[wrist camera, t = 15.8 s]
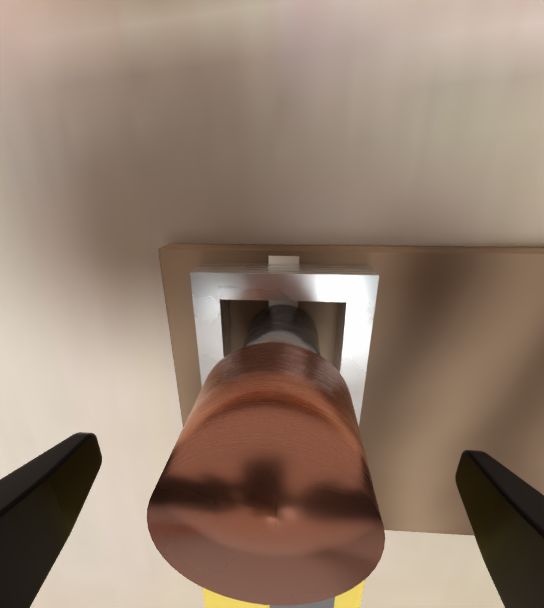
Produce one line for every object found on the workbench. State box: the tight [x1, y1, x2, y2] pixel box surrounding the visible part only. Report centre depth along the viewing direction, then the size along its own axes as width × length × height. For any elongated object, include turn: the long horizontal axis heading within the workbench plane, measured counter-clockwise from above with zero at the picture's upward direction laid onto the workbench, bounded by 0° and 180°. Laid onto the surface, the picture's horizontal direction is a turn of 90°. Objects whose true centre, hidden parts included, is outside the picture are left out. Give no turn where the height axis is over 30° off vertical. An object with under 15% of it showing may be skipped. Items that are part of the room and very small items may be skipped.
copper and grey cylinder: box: [147, 304, 385, 606], centre depth 9 cm, size 4×4×8 cm
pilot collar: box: [190, 262, 379, 426], centre depth 12 cm, size 7×7×2 cm
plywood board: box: [158, 244, 544, 535], centre depth 15 cm, size 20×16×1 cm
